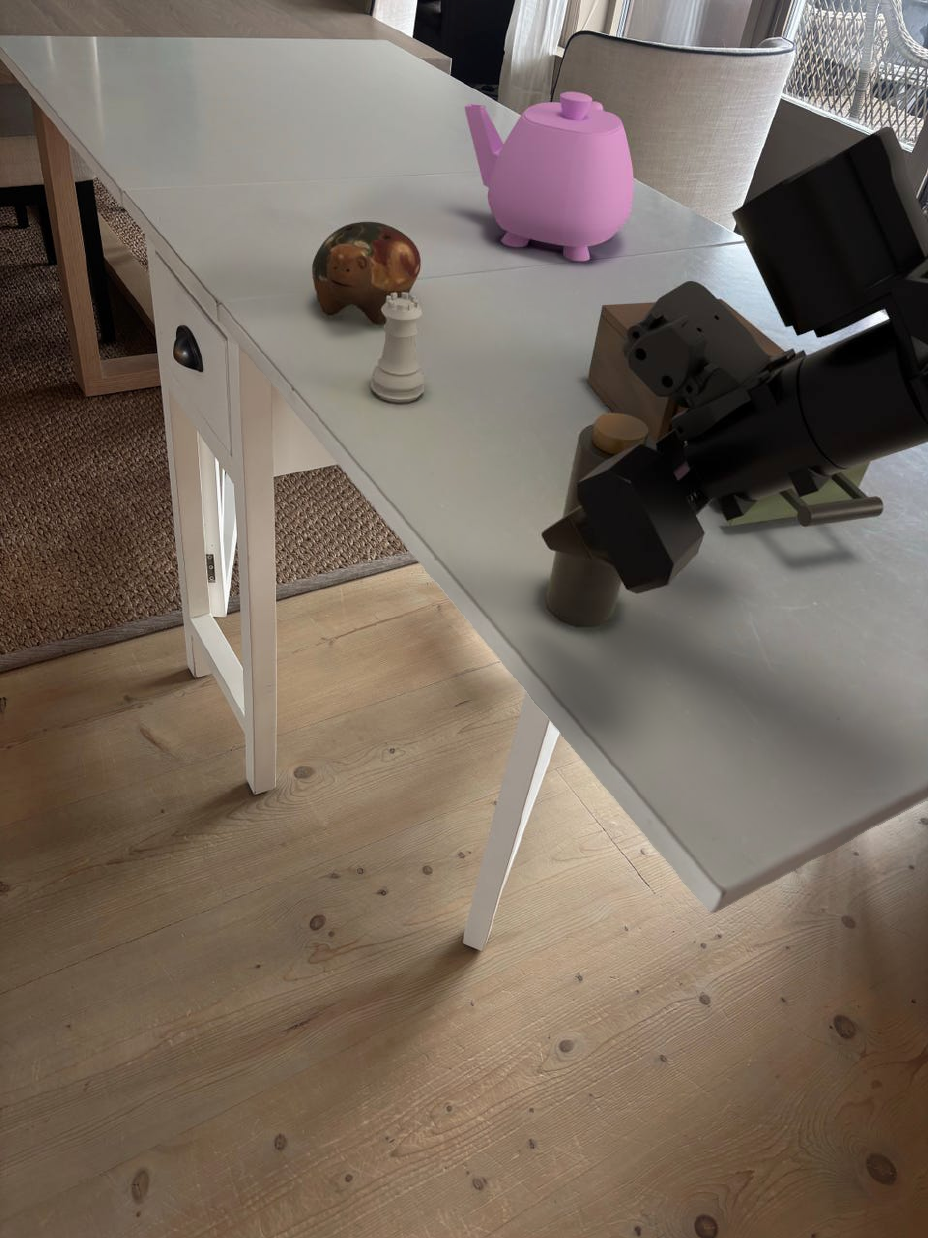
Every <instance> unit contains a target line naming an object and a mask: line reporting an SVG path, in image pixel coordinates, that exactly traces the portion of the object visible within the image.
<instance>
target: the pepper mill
mask: <svg viewBox="0 0 928 1238" xmlns="http://www.w3.org/2000/svg"><path fill="white" fill-rule="evenodd" d="M648 433H649V432H648V428H647V426H646V425H645V424H644V423H643V422H642V421H641V420H639V419H637V418H635V417H633V416H630V415H626V414H620V413H613V412H611V413H605V414H601V415H599V416H598V417H597V418H596V419H595V421H594V423H592V424H589V425H587V426H585V427H584V428H582V430H581V431H580V433H579V435H578V437H577V438H578V439H577V442H576V443H577V444H576V449H575V453H574V460H573V462H572V463H573V464H572V468H571V474H570V478H569V484H568V488H567V493H566V498H565V504H564V507H563V511H562V517H561V518H563V517H564V516H566V515H567V514H569V513H570V512H572V511H573V510H575V509H576V508H577V507H579V506H580V503H579V501H578V499H577V483H578V482H579V481H580V480H581V479H583V478H584V477H585V476H586V475H588V474H589V473H590V472H591V471H593V470H594V469H595V468H596V467H598V466H599V465H600V464H602V463H603V462H604V461H605V460H607V459H608V458H611V457H613V456H615V455H617V454H618V453H620V452H622V451H624V450H626V449H628V448H630V447H633V446H635V445H637V444H640V443H641V444H644V445H646V446H648V447H650V448H653V449H655V450H657V446H656V444H655V442H654V440H653V439H652V438H651V437H650V436H649V435H648ZM622 584H623V582H622V581H621V579H620V577H619V575H618V573H617V571H616V569H615V568H612V567H609V566H607V565H604V564H601V563H598V562H594V561H591V560H587V559H583V558H580V557H576V556H572V555H568V554H564V553H561V552H557V551H554V557H553V562H552V566H551V572H550V576H549V582H548V586H547V591H546V597H545V602H546V605H547V607H548V609H549V611H550V612H551V614H552V615H553V616H555V617H556V618H557V619H558V620H561V622H562V621H563V622H565V623H567V624H570V625H573V626H577V627H586V628H587V627H596V626H600V625H602V624H604V623H606V622H607V621H609V620H610V619H611V618H612V616H613V614H614V612H615V609H616V605H617V601H618V597H619V593H620V590H621V586H622Z"/></svg>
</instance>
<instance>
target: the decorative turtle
mask: <svg viewBox="0 0 928 1238" xmlns="http://www.w3.org/2000/svg"><path fill="white" fill-rule="evenodd" d="M421 262H422V261H421V254H420V251H419V249H418V247H417V246H416V244H415V243H414V241H413V240H412V239H411V238H410V237H408V235H406V234H404V232H402V231H400V230H398V229H397V228H395V227H393V226H390V225H389V224H385V223H382V222H377V221H359V222H358V221H357V222H353V223H349V224H346V225H344V226H341V227H339V228H338V229H336V230H335V231H334V232H332V233H331V234H330V235H328V237H327V238H325V240H324V241H323V242H322V244H321V245H320V247H319V248H318V250H317V251H316V253H315V255H314V258H313V261H312V266H311V272H312V279H313V284H314V285H313V286H314V290H315V292H316V297H317V301H318V304H319V306H320V309H321V311H322V312H323V313H324V315H326V316H328V317H332V316H335V315H338V314H339V313H340V312H342V311H343V310H344V309H345V308H346V307H348V306H350V305H352V306H354V307H356V308H358V309H359V310H360V311H361V312H362V313H363V314H364V316H365V317H366V318H367V319H368V320H369V321H370V322H371V323H372V324H374V325H377V326H381V325H383V324H386V322H387V321H386V317H385V316H384V314H383V313H382V311H381V308H382V306H383V305H384V304H385V303H386V298H387V296H391V293H395V292H396V293H397V298H402V292H404V293H408V294H410V291H411V290H412V287H413V286H414V284H415V282H416V281H417V279H418V277H419V274H420V271H421V266H422V265H421Z"/></svg>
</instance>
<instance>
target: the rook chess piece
mask: <svg viewBox="0 0 928 1238" xmlns="http://www.w3.org/2000/svg"><path fill="white" fill-rule="evenodd" d="M419 301H420V300H419V299H418V296H417V295H415V294H412V295H410V298H409V293H404V292H402V298H397V293H396V292H395V293H391V296H387V298H386V303H385V304H384V305H383V306H382V308H381V311H382V313H383V314H384V316H385V317H386V321H385V323H384V325H383V327H382V329H383V331H384V332H385V333H384V345H383V350H382V355H381V358H379V359H378V361H377V364H376V365H375V366H374V368H373V371H372V374H371V377H372V378H373V379H372V380H371V383H370V386H371V389H372V391H373V393H374V394H375V395H376V396H377V397H378V398H380V399H381V400H384V401H386V402H391V403H397V404H402V403H403V404H404V403H409V402H413V401H415V400H417V399H418V398H419V397H420V396H421V395H422V394H423V392H424V391H425V386H424V384H423V383H424V381H425V374H424V371H423V370H422V368H421V364H420V362H419V361H418V358H417V347H416V346H417V345H416V338H417V337H416V336H417V334H418V333H419V328H418V326H417V321H418V320H419V319H420V318H421V317H422V316H423V310H422V309H421V307H420V305H419Z"/></svg>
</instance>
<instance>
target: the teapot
mask: <svg viewBox="0 0 928 1238" xmlns="http://www.w3.org/2000/svg"><path fill="white" fill-rule="evenodd" d="M486 107H487V106H486V104H485V105H484V104H476V103H469V104H466V105H464V112H465V117H466V120H467V124H468V128H469V132H470V137H471V140H472V144H473V148H474V152H475V155H476V160H477V164H478V168H479V172H480V176H481V180H482V183H483V186H484V187H487V188H488V190H487V202H488V206H489V209H490V211H491V214H492V215H493V217H494V220H495V221H496V223H497V225H498V226H499V227H500V228H501V229H502V230H504V231H506V233H505V234H504V236H502V238H501V239H500V242H501V243H502V244H504V245H505V246H508V247H512V248H524V247H527V245H528V243H529V242H530V240H534V241H536V242H537V241H538V242H542V243H546V244H551V245H557V246H563V250H562V251H563V252H562V255H563V257H564V258H566V259H567V260H570V261H573V262H586V261H587V262H588V261H589V260H590V259H591V257H590V252H589V247H592V246H597V245H600V244H602V243H605V242H607V241H609V240H610V239H611V238H612V237H613V236H615V234H617V232H618V231H619V230H620V229H622V227H623V226H624V225H625V223H626V222H627V221H628V219H629V217H630V215H631V213H632V208H633V203H634V191H635V190H634V188H635V187H634V185H635V184H634V183H635V180H634V167H633V162H632V155H631V150H630V147H629V142H628V139H627V134H626V131H625V127H624V124H623V121H622V119H621V118H620V117H619V116H618V115H616V114H614V113H612V112H609V111H605V110H604V107H603V105H602V103H601V102H598V101H595V100H593V97H591V96H590V95H589V94H586V93H583V92H578V91H564V92H561V93H559V102H557V101H556V102H555V101H553V102H552V101H551V102H550V101H549V102H541V103H536V104H533V105H531V106H528V107H527V108H526V109H525V110H524V111H523V112H522V114H521V115H520V116H519V117H518V119H517V121H516V122H515V124H514V126H513V128H512V129H511V131H510V132H509V134H508V136H507V138H505V141H504V142H503V140H502V138H501V136H500V134H499V133H498V131H497V128H496V127H495V124H494V123H493V121H492V119H491V117H490V114H489V113H488V111H487V109H486Z"/></svg>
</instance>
